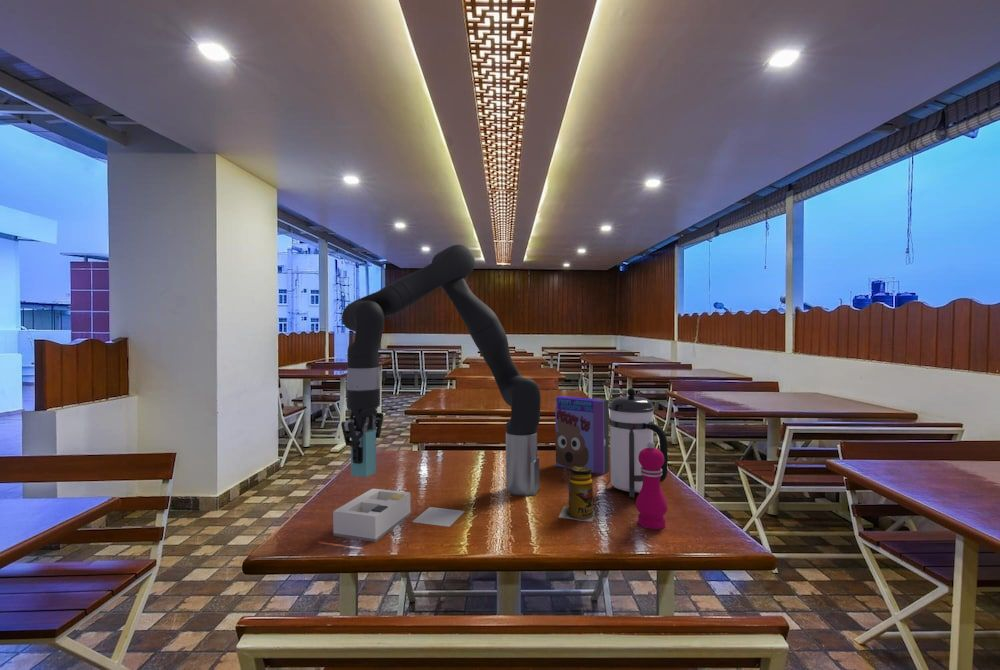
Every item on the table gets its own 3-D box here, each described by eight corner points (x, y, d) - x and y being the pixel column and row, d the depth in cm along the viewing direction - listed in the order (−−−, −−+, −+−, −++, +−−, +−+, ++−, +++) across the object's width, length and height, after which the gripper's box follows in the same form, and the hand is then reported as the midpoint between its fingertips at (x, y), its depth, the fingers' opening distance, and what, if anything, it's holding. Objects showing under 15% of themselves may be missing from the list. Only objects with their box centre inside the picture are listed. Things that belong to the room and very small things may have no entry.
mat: (464, 512, 120) (464, 511, 120) (449, 528, 110) (449, 526, 110) (429, 508, 123) (429, 506, 123) (411, 523, 113) (411, 521, 113)
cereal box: (555, 466, 161) (555, 397, 160) (562, 463, 164) (561, 395, 164) (603, 474, 151) (603, 401, 150) (608, 471, 154) (608, 399, 154)
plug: (375, 472, 109) (375, 429, 109) (366, 477, 105) (365, 433, 105) (361, 470, 110) (361, 428, 110) (351, 475, 107) (350, 432, 107)
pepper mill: (663, 533, 107) (663, 446, 107) (632, 526, 111) (631, 442, 111) (670, 522, 113) (670, 440, 113) (640, 516, 117) (640, 436, 117)
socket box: (410, 516, 118) (410, 491, 118) (375, 543, 103) (375, 515, 102) (372, 511, 121) (372, 487, 121) (333, 537, 106) (333, 509, 106)
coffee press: (601, 498, 129) (601, 391, 129) (608, 480, 144) (608, 384, 144) (667, 505, 124) (667, 393, 123) (667, 486, 139) (667, 386, 138)
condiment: (592, 522, 113) (592, 473, 113) (558, 518, 116) (558, 470, 116) (595, 511, 120) (595, 465, 120) (563, 507, 123) (563, 462, 123)
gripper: (359, 391, 100) (359, 470, 100) (393, 384, 114) (393, 454, 114) (329, 390, 102) (330, 467, 102) (366, 383, 116) (367, 451, 116)
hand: (363, 460), depth 108 cm, fingers closed on plug, 4 cm apart
